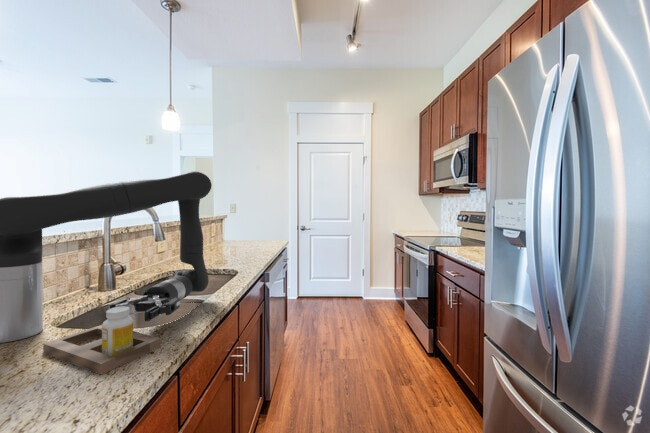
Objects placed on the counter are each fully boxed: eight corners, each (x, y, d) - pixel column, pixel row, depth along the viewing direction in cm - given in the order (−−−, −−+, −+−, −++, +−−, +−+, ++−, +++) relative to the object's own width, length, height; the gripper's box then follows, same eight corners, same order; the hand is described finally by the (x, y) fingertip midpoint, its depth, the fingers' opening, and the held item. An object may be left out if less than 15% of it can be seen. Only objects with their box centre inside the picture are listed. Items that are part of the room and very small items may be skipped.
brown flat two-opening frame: (43, 353, 62) (43, 343, 62) (105, 331, 73) (104, 323, 73) (101, 374, 54) (101, 364, 54) (160, 347, 65) (160, 338, 65)
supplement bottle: (95, 361, 59) (95, 314, 59) (112, 348, 64) (112, 305, 64) (124, 360, 59) (123, 313, 59) (138, 348, 65) (138, 304, 64)
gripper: (139, 281, 80) (93, 299, 64) (191, 281, 81) (159, 300, 64) (139, 308, 81) (93, 333, 64) (191, 308, 81) (159, 333, 65)
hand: (126, 316), depth 64 cm, fingers open, 8 cm apart
